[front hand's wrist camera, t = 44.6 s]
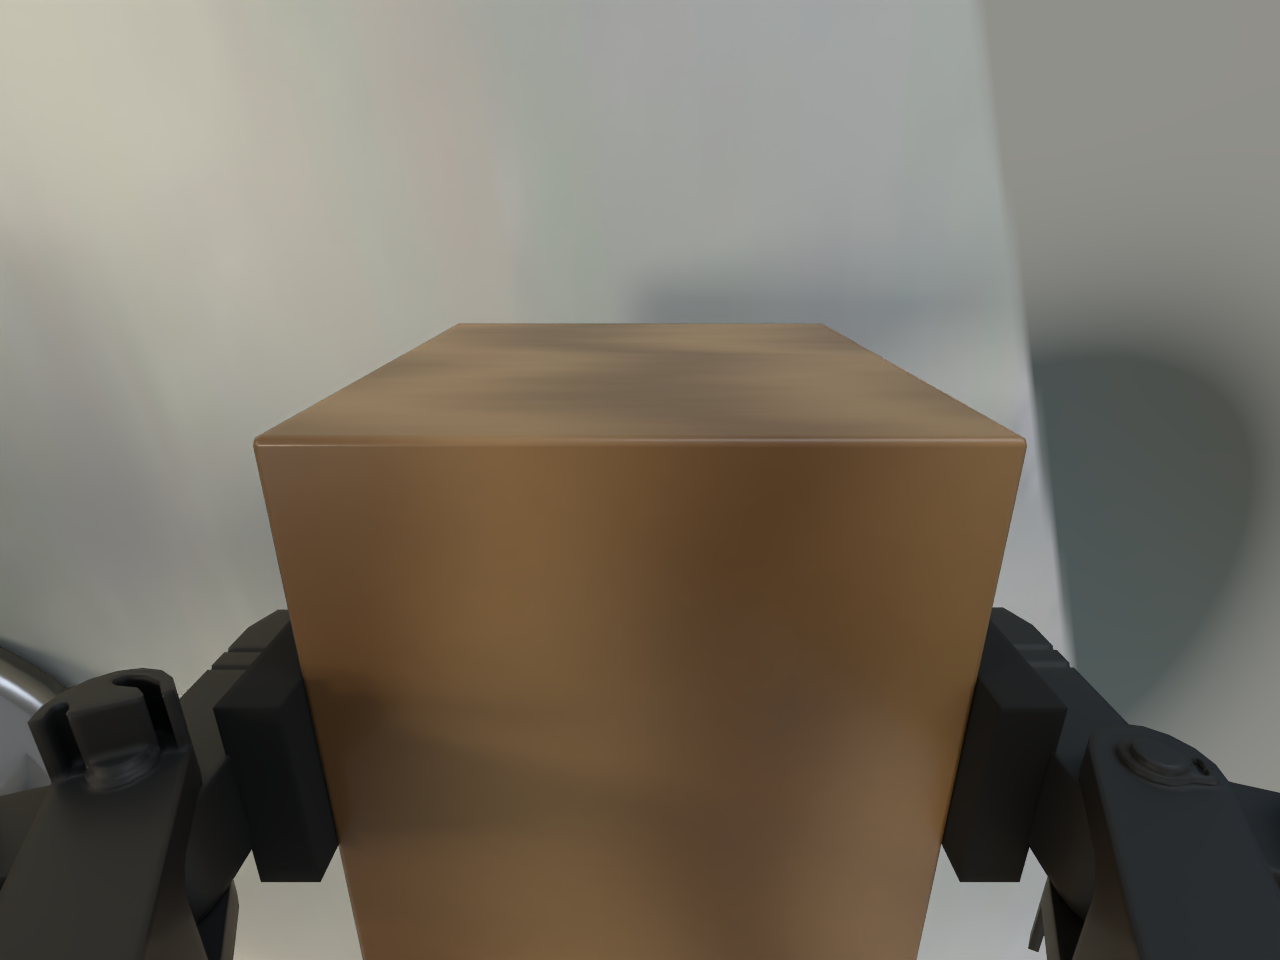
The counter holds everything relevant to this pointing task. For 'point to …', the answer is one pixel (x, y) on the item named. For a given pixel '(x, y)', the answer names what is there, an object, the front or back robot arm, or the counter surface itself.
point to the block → (639, 637)
